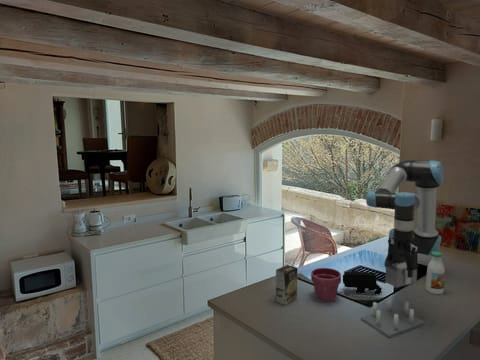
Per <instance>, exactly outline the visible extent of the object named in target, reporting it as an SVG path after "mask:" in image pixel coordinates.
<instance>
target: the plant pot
mask: <svg viewBox="0 0 480 360" xmlns="http://www.w3.org/2000/svg"><path fill="white" fill-rule="evenodd" d="M310 275H311V277H310V280H311V282H312V283H313V288H314V291H315V292H314V294H315V297H316V299H317V300H318V301H320V302H323V303H331V302H334V301H336V297H337V293H338V291H339V285H340V284H341V283H342V274H341V272H340V271H339V270H337V269H334V268H331V267H330V268H329V267H318V268H314V269H312V270H311V274H310Z"/></svg>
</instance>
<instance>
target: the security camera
mask: <svg viewBox="0 0 480 360" xmlns="http://www.w3.org/2000/svg"><path fill="white" fill-rule="evenodd" d="M342 284H343V285H344V288H350V289H351V288H352V289H354V290H355V291H354V292H355V294H362V293H365V294H366V289H367V290H368V291H371V292H374V295H376V294H377V295H378V296H380V295H381V294H383V292H382V291H383V290H382V289H383V288H382V287H381V286H380V285H379V284H378V282H377V275H376V272H369V271H367V272H365V271H351V270H344V271H343V274H342Z"/></svg>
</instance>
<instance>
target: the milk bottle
mask: <svg viewBox="0 0 480 360" xmlns="http://www.w3.org/2000/svg"><path fill="white" fill-rule="evenodd" d="M431 255H432V256H431ZM431 255H430V256H431V260H430V261H429V262H428V264H427V269H426V278H425V279H426V281H425V289H426V291H427V292H428V293H431V294H433V295H442V294H443V293H444V290H445V273H446V271H445V265H444V264H443V261H442V258H443V253H442V252H440V251H438V252H432V253H431Z"/></svg>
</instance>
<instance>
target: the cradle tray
mask: <svg viewBox="0 0 480 360" xmlns="http://www.w3.org/2000/svg"><path fill="white" fill-rule="evenodd" d="M409 303H410V302H409V301H408V300H405V301H404V309H402V308H401V307H398V306H396V305H394V306H393V298H392V297H388V298H387V308H385V309H381V310H379V309H378V303H377V302H376V301H374V302H373V303H372V313H370V314H367V315H364V316H361V317H360V320H361V321H362V322H364V323H365V324H366V325H368V326H370V327H371V328H373V329H374V330H375V331H378V332H379V333H380V334H382V335H384V336H385V337H387V338H388V339H390V338H393V337H395V336H397V335H401V334H403V333H405V332H408V331H410V330H413V329H416V328H418V327H421V326H424V325H426V321H425V320H422V319H421V318H419V317H417V316H416V315H415V309H413V308H409V306H410V304H409Z"/></svg>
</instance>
